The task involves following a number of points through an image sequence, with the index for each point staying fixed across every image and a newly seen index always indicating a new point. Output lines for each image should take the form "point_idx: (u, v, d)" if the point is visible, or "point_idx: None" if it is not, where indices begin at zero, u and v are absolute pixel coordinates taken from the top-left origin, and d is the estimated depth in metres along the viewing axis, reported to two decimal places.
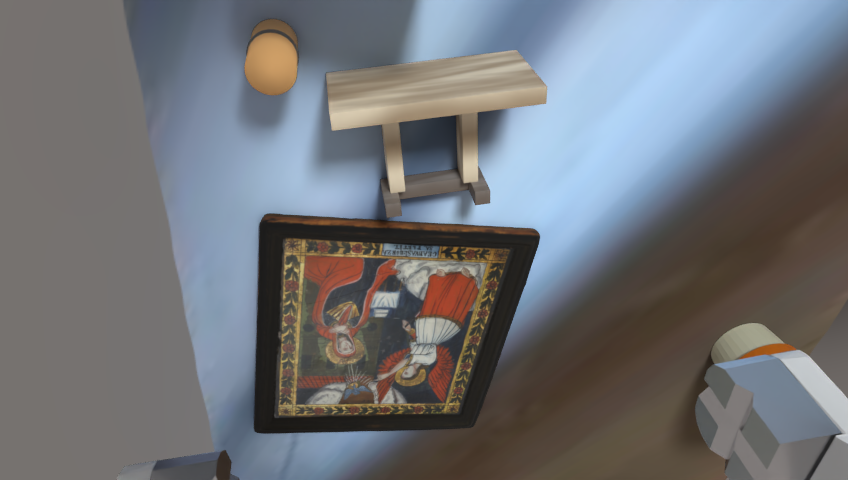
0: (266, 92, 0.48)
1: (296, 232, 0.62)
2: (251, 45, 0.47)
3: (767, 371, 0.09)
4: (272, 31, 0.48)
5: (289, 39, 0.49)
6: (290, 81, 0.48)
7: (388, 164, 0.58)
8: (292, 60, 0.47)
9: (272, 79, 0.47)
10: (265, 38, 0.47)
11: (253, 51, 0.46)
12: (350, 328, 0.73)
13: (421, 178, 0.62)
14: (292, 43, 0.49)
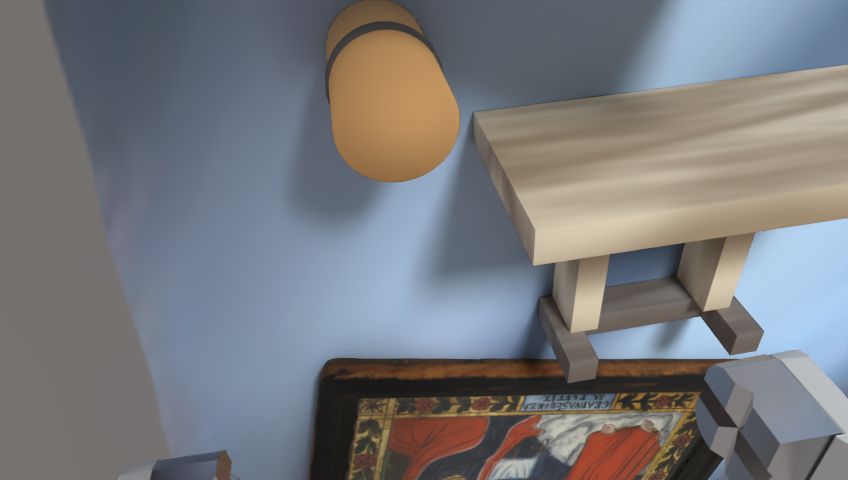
0: (378, 177, 0.20)
1: (385, 393, 0.34)
2: (344, 61, 0.19)
3: (767, 371, 0.09)
4: (391, 26, 0.20)
5: (428, 45, 0.20)
6: (440, 150, 0.19)
7: (578, 286, 0.30)
8: (453, 100, 0.18)
9: (397, 147, 0.19)
10: (381, 44, 0.19)
11: (358, 79, 0.17)
12: None
13: (616, 297, 0.34)
14: (435, 55, 0.21)
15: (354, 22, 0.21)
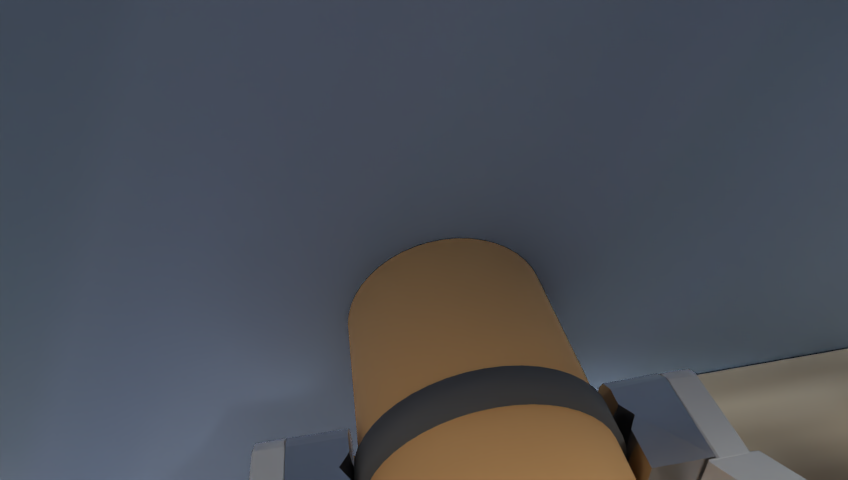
0: None
1: None
2: None
3: (652, 391, 0.09)
4: (523, 392, 0.08)
5: (604, 417, 0.09)
6: None
7: None
8: None
9: None
10: None
11: None
12: None
13: None
14: (616, 434, 0.09)
15: (420, 338, 0.09)
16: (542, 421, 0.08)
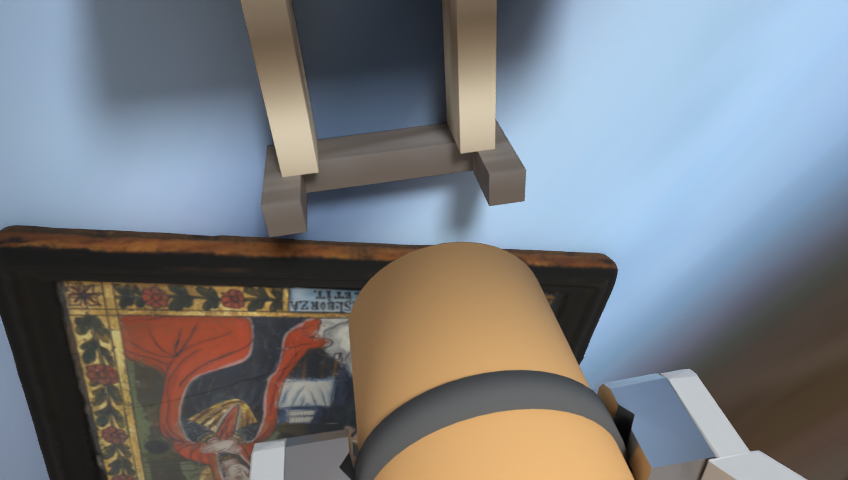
0: None
1: (74, 269, 0.27)
2: None
3: (652, 391, 0.09)
4: (522, 397, 0.08)
5: (604, 421, 0.09)
6: None
7: (267, 101, 0.23)
8: None
9: None
10: None
11: None
12: (242, 444, 0.38)
13: (362, 143, 0.26)
14: (616, 438, 0.09)
15: (421, 342, 0.09)
16: (542, 426, 0.08)
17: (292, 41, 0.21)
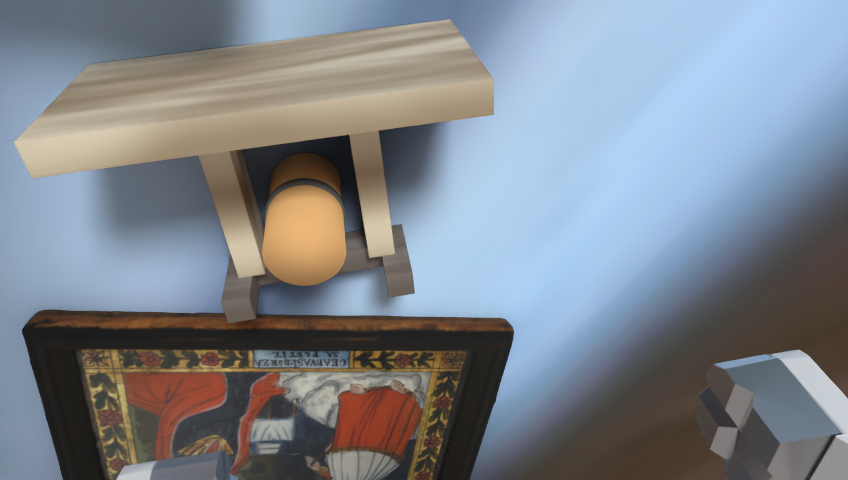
0: (296, 282, 0.30)
1: (89, 342, 0.37)
2: (272, 209, 0.30)
3: (767, 371, 0.09)
4: (305, 182, 0.30)
5: (331, 192, 0.31)
6: (335, 265, 0.30)
7: (224, 229, 0.32)
8: (339, 236, 0.29)
9: (306, 265, 0.29)
10: (295, 199, 0.29)
11: (276, 227, 0.28)
12: None
13: None
14: (336, 198, 0.31)
15: (284, 175, 0.32)
16: (308, 188, 0.30)
17: (240, 192, 0.31)
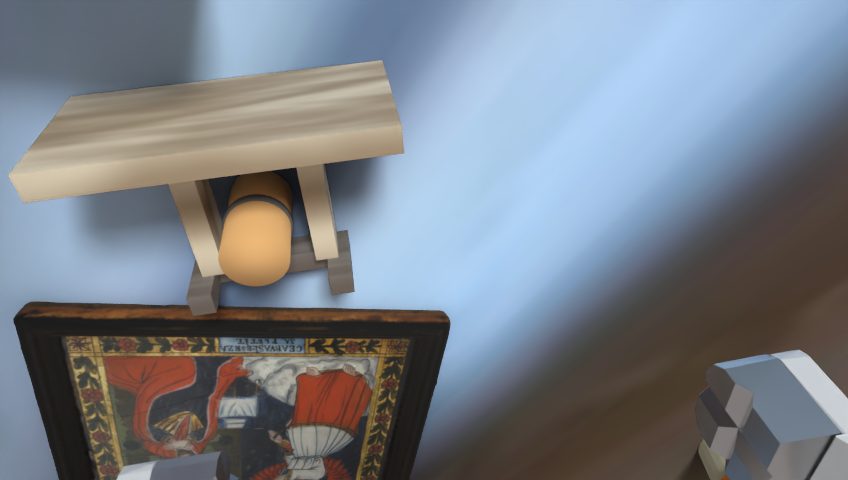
0: (248, 284, 0.35)
1: (73, 330, 0.42)
2: (228, 221, 0.35)
3: (767, 371, 0.09)
4: (257, 198, 0.36)
5: (280, 207, 0.36)
6: (281, 269, 0.35)
7: (189, 236, 0.37)
8: (283, 246, 0.34)
9: (256, 269, 0.35)
10: (247, 214, 0.35)
11: (230, 239, 0.33)
12: (194, 443, 0.53)
13: None
14: (284, 211, 0.36)
15: (240, 191, 0.37)
16: (259, 203, 0.36)
17: (201, 205, 0.36)
